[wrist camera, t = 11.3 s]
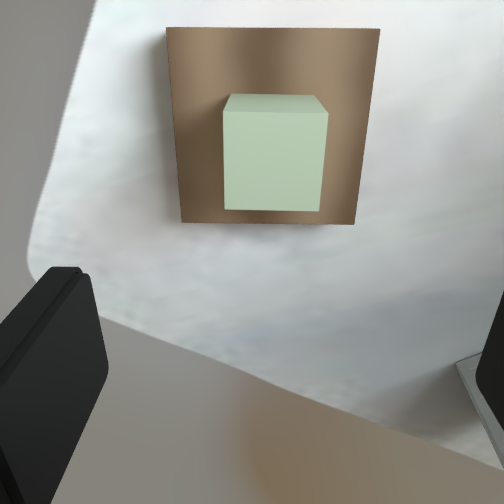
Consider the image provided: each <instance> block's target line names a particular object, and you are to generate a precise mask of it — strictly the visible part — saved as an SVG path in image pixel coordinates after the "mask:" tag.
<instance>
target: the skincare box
mask: <svg viewBox="0 0 504 504" xmlns="http://www.w3.org/2000/svg"><path fill="white" fill-rule="evenodd" d="M481 355H482V353H480V354H478V355H475V356H472V357H469V358H467V359H464V360H462V361H459V362H457V363H456V364H455V365H456V367H457V370H458V372H459V374H460V376H461V378H462V381H463V383H464V385H465V387H466V389H467V391H468V393H469V396H470V398H471V400H472V402H473V404H474V407H475V409H476V411H477V413H478V415H479V417H480V420H481V422H482V424H483V426H484V428H485V430H486V432H487V434H488V436H489V438H490V440H491V442H492V445H493V447H494V449H495V451H496V453H497V455H498V457H499V460H500V462H501V464H502V466H503V468H504V431H503V429H502V428H501V426H500V424H499V423H498V421H497V419H496V417H495V416H494V414H493V412H492V411H491V409H490V407H489V406H488V404H487V402H486V400H485V399H484V397H483V395H482V394H481V392H480V390H479V389H478V386H477V384H476V379H475V373H476V369H477V366H478V363H479V361H480V358H481Z"/></svg>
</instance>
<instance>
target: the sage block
mask: <svg viewBox="0 0 504 504" xmlns="http://www.w3.org/2000/svg"><path fill="white" fill-rule="evenodd" d="M328 115H329V113H328V112H327V111H326V110H325V108H324V107H323V106H322V104H321V103H320V102H319V101H318V99H317V98H316V97H315V95H281V94H231V95H230V97H229V99H228V101H227V104H226V106H225V108H224V110H223V142H224V202H225V209H230V210H277V211H319V206H320V196H321V185H322V175H323V165H324V155H325V145H326V135H327V125H328Z"/></svg>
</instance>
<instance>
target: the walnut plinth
mask: <svg viewBox="0 0 504 504" xmlns="http://www.w3.org/2000/svg"><path fill="white" fill-rule="evenodd" d="M166 34H167V46H168V59H169V71H170V83H171V95H172V108H173V120H174V132H175V145H176V157H177V169H178V181H179V194H180V206H181V218H182V222H183V223H262V224H341V225H354V223H355V215H356V208H357V200H358V193H359V185H360V178H361V170H362V163H363V155H364V148H365V140H366V133H367V125H368V118H369V110H370V103H371V95H372V88H373V80H374V73H375V65H376V58H377V50H378V43H379V35H380V29H368V28H208V27H166ZM231 94H281V95H315V97H316V98H317V99H318V101H319V102H320V103H321V104H322V106H323V107H324V108H325V110H326V111H327V112H328V113H329V115H328V125H327V135H326V145H325V155H324V165H323V175H322V185H321V196H320V206H319V211H277V210H230V209H225V202H224V142H223V110H224V108H225V106H226V104H227V101H228V99H229V97H230V95H231Z"/></svg>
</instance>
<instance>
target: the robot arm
mask: <svg viewBox="0 0 504 504" xmlns="http://www.w3.org/2000/svg"><path fill="white" fill-rule="evenodd" d="M107 374H108V360H107V355H106V350H105V345H104V340H103V336H102V332H101V327H100V321H99V317H98V312H97V307H96V302H95V298H94V293H93V288H92V283H91V279H90V276H89V275H88V274H87V273H83V272H82V270H81V269H80V268H79V267H51V268H50V269H48V271H47V272H46V273H45V274H44V275H43V276H42V277H41V279H40V280H39V281H38V282H37V283H36V284H35V285H34V287H33V288H32V289H31V290H30V291H29V292H28V293H27V294H26V295H25V297H24V298H23V299H22V300H21V301H20V302H19V303H18V305H17V306H16V307H15V308H14V309H13V310H12V311H11V312H10V314H9V315H8V316H7V317H6V318H5V319H4V320H3V322H2V323H1V324H0V504H51V501H52V499H53V497H54V495H55V492H56V490H57V488H58V486H59V483H60V481H61V479H62V477H63V475H64V472H65V470H66V468H67V465H68V463H69V461H70V459H71V457H72V454H73V452H74V450H75V448H76V445H77V443H78V441H79V439H80V437H81V434H82V432H83V430H84V427H85V425H86V423H87V421H88V419H89V416H90V414H91V412H92V410H93V407H94V405H95V403H96V401H97V399H98V396H99V394H100V392H101V390H102V387H103V385H104V383H105V381H106V378H107ZM475 379H476V384H477V386H478V389H479V390H480V392H481V394H482V395H483V397H484V399H485V400H486V402H487V404H488V406H489V407H490V409H491V411H492V412H493V414H494V416H495V417H496V419H497V421H498V423H499V424H500V426H501V428H502V429H503V431H504V292H503V295H502V298H501V301H500V304H499V306H498V309H497V312H496V315H495V318H494V321H493V323H492V326H491V329H490V332H489V335H488V338H487V341H486V343H485V346H484V349H483V352H482V355H481V358H480V361H479V363H478V366H477V369H476V373H475Z"/></svg>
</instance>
